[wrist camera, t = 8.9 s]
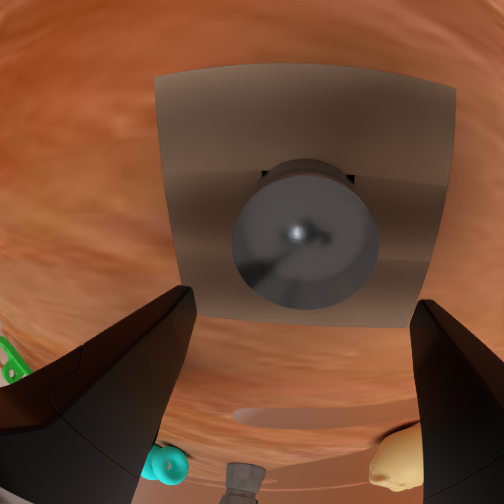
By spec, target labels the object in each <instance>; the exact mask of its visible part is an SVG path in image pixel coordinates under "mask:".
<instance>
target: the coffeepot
mask: <svg viewBox="0 0 504 504" xmlns="http://www.w3.org/2000/svg"><path fill="white" fill-rule="evenodd" d="M265 473H266V472H265V469H264V468H262V467H259V466H256V465H251V464H245V463H230V464H228V465H227V473H226V488H227V490H226V494H225V495H223V496H222V499H221V501H220V503H219V504H258V501H257V500H256V499H255V497H256V494H257V493H258V491H259V488H260V486H261V483H262V481H263V478H264V476H265Z"/></svg>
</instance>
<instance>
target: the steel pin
mask: <svg viewBox="0 0 504 504" xmlns="http://www.w3.org/2000/svg"><path fill="white" fill-rule="evenodd" d="M378 251H379V238H378V232H377V228H376V225H375V222H374V220H373V218H372V216H371V214H370V212H369V210H368V208H367V207H366V205H365V203H364V201H363V199H362V198H361V196H360V194H359V192H358V191H357V189H356V187H355V186H354V184H353V183H352V181H351V180H350V179H349V178H348V177H347V176H346V175H345V174H344V173H343V172H342V171H341V170H339V169H338V168H336V167H335V166H333V165H331V164H329V163H326V162H324V161H320V160H316V159H294V160H290V161H286V162H283V163H281V164H279V165H277V166H275V167H273V168H272V169H270V170H269V171H268V172H267V173H265V174H264V175H263V176H262V178H261V179H260V180H259V181H258V183H257V184H256V186H255V187H254V189H253V191H252V193H251V195H250V196H249V198H248V200H247V202H246V203H245V205H244V207H243V209H242V211H241V212H240V214H239V216H238V218H237V220H236V223H235V226H234V229H233V233H232V255H233V259H234V262H235V265H236V267H237V270H238V272H239V274H240V275H241V277H242V278H243V280H244V281H245V282H246V283H247V285H248V286H249V287H250V288H251V289H252V290H253V291H254V292H256V293H257V294H258V295H260V296H261V297H263V298H265V299H266V300H268V301H270V302H272V303H274V304H277V305H280V306H283V307H287V308H292V309H300V310H312V309H320V308H325V307H329V306H332V305H335V304H337V303H339V302H342V301H344V300H345V299H347V298H349V297H350V296H352V295H353V294H354V293H356V292H357V291H358V290H359V289H360V288H361V287H362V286H363V285H364V284H365V282H366V281H367V280H368V278H369V277H370V275H371V273H372V271H373V269H374V267H375V265H376V261H377V258H378Z"/></svg>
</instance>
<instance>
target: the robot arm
mask: <svg viewBox="0 0 504 504" xmlns="http://www.w3.org/2000/svg"><path fill="white" fill-rule="evenodd" d="M196 316H197V307H196V302H195V297H194V292H193V289H192V287H190V286H183V285H178V286H176V287H174V288H172V289H171V290H169V291H168V292H166V293H164V294H163V295H161V296H159V297H158V298H156V299H155V300H153V301H151V302H150V303H148V304H146V305H145V306H143V307H142V308H140V309H138V310H137V311H135V312H133V313H132V314H130V315H129V316H127V317H125V318H124V319H122V320H121V321H119V322H117V323H116V324H114V325H113V326H111V327H109V328H108V329H106V330H104V331H103V332H101V333H100V334H98V335H96V336H95V337H93V338H92V339H90V340H88V341H87V342H85V343H84V344H83V345H80V346H79V347H77V348H76V349H74V350H73V351H71V352H69V353H68V354H66V355H64V356H63V357H61V358H59V359H58V360H56V361H54V362H52V363H50V364H48V365H47V366H45V367H43V368H41V369H39V370H37V371H35V372H33V373H31V374H29V375H27V376H26V377H24V378H22V379H20V380H18V381H16V382H14V383H12V384H10V385H7V386H4V387H0V504H131V502H132V499H133V496H134V493H135V490H136V488H137V485H138V482H139V478H140V476H141V473H142V470H143V468H144V465H145V462H146V460H147V457H148V454H149V452H150V451H151V449H152V447H153V446H154V444H155V441H156V439H157V436H158V432H159V428H160V424H161V420H162V417H163V414H164V412H165V409H166V406H167V404H168V401H169V399H170V396H171V394H172V391H173V388H174V386H175V383H176V381H177V378H178V376H179V373H180V371H181V368H182V365H183V363H184V360H185V357H186V353H187V349H188V346H189V342H190V338H191V334H192V331H193V327H194V323H195V320H196ZM410 337H411V347H412V359H413V371H414V379H415V385H416V392H417V399H418V407H419V415H420V424H421V435H422V449H423V477H424V489H423V490H424V491H423V492H424V493H423V498H424V499H423V504H504V362H503V361H502V360H501V359H500V358H499V357H498V356H496V355H495V354H494V353H493V352H492V351H491V350H490V349H489V348H488V347H487V346H486V345H485V344H484V343H482V342H481V341H480V340H479V339H478V338H477V337H476V336H475V335H474V334H472V333H471V332H470V331H469V330H468V329H467V328H466V327H464V326H463V325H462V324H461V323H460V322H459V321H457V320H456V319H455V318H454V317H453V316H452V315H450V314H449V313H448V312H447V311H446V310H444V309H443V308H442V307H441V306H440V305H438V304H437V303H436V302H435V301H433V300H431V299H421V300H419V302H418V303H417V306H416V308H415V311H414V313H413V316H412V318H411V321H410Z"/></svg>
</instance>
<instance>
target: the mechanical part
mask: <svg viewBox="0 0 504 504" xmlns="http://www.w3.org/2000/svg"><path fill="white" fill-rule="evenodd" d="M0 346H1V347H2V349H3V350H4V351H5V353H6V354H7V355H8V361H7V363H6V364H5V365H4V367H3V369H2V375H3V378H4V379H5V380H6V381H7V382H8V383H10V384H12V383H14V382H16V381H18V380H20V379H21V378H22V376H23V375H24V374H25V375H29V374H31V373H33V371H32V370H31V369H30V367H29V366H28V365H27V364H26V363H25V361H24V360H23V359H22V358H21V356H20V355H19V354H18V352H17V351H16V350H15V348H14V347H13V346H12V345H11V343H10V342H9V341H8V340H7V339H6V338H5V337H3V336H0ZM11 369H13V370H14V376H13V377H11V378H10V376H9V371H10V370H11Z"/></svg>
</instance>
